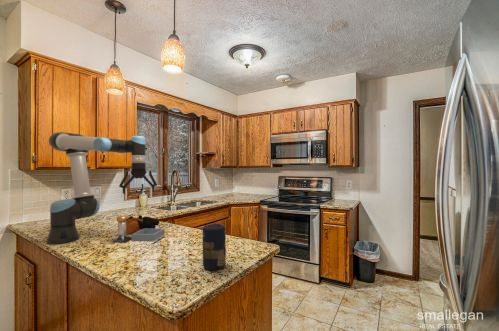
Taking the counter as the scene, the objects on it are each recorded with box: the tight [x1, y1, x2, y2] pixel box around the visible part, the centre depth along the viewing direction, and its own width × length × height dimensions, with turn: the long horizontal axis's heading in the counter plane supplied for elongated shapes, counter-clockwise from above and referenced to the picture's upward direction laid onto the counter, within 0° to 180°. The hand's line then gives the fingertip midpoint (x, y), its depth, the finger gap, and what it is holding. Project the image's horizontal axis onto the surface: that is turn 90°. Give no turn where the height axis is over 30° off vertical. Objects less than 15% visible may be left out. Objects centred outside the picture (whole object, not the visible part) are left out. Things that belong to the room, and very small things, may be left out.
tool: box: [126, 214, 160, 237], centre depth 157 cm, size 8×23×15 cm, turn 142°
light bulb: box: [116, 215, 128, 240], centre depth 138 cm, size 5×5×13 cm
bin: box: [130, 228, 166, 245], centre depth 142 cm, size 13×13×5 cm
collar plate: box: [107, 236, 131, 244], centre depth 138 cm, size 10×10×2 cm
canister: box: [202, 223, 227, 271], centre depth 103 cm, size 10×10×18 cm
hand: (138, 198), depth 146 cm, fingers open, 13 cm apart
